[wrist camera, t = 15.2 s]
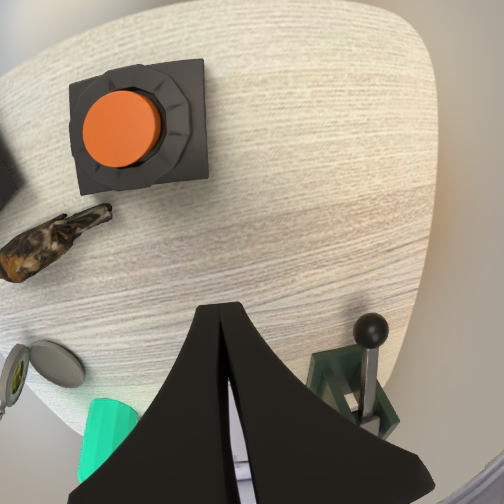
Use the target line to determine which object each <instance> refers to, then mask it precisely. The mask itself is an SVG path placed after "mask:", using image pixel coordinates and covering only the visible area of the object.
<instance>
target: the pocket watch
mask: <svg viewBox="0 0 504 504" xmlns="http://www.w3.org/2000/svg"><path fill="white" fill-rule="evenodd" d="M29 361H30V362H31V364H32V366H33V367H34V368H35V370H36V371H37V372H38V373H39V374H40V375H42V376H43V377H44V378H46V379H47V380H48V381H50V382H52V383H54V384H56V385H59V386H61V387H66V388H77V387H79V386H81V385H82V384H83V381H84V371H83V368H82V366H81V365H80V363H79V362H78V361H77V359H76V358H75V357H74V356H73V355H71V354H70V353H69V352H68V351H67V350H65V349H63V348H62V347H60V346H58V345H56V344H53V343H51V342H48V341H36V342H34V343H32V344H31V346H30V347H26V346H24V345H22V344H17V345H15V346H14V347H13V348H12V350H11V352H10V353H9V355H8V357H7V359H6V361H5V364H4V367H3V370H2V374H1V378H0V400H1V406H0V420H1V419H2V416H3V415H4V414H5V406H8V407H11V406H12V405H14V404H15V403H16V401H17V400H18V398H19V396H20V394H21V391H22V388H23V385H24V382H25V379H26V375H27V371H28V365H29Z"/></svg>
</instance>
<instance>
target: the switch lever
mask: <svg viewBox="0 0 504 504" xmlns="http://www.w3.org/2000/svg"><path fill="white" fill-rule="evenodd" d="M388 333H389V327H388V323H387V321H386V320H385V318H384V317H383V316H381V315H379V314H377V313H367V314H364V315H362V316H361V317H360V318H359V319H358V320H357V321H356V323H355V325H354V328H353V336H354V339H355V341H356V343H357V344H358V345H359V346H361V347H362V365H361V382H360V395H359V407H358V410H356V411H353V412H352V414H353V417H354V419H355V421H356V423H357V425H358V426H360V427H362V428H364V429H365V430H367V431H369V432H370V433H372V434H374V435H376V436H378V432H379V426H380V420H381V418H380V417H379V416H378V415H377V414H376V413H375V412H374V411H373V407H374V398H375V389H376V379H377V367H378V351H379V346H381V345H382V344H383V343H384V342H385V341H386V339H387V337H388Z"/></svg>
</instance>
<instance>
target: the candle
mask: <svg viewBox="0 0 504 504" xmlns="http://www.w3.org/2000/svg"><path fill="white" fill-rule="evenodd" d="M136 424H137V413H136V412H135V411H134V410H133V409H132V408H131V407H129V406H127V405H125V404H123V403H121V402H119V401H115V400H110V399H106V398H104V399H95V400H94V401H93V402H92V403H91V404H90V409H89V413H88V418H87V422H86V427H85V432H84V437H83V443H82V449H81V455H80V461H79V468H78V479H79V481H80V482H81V483H82V482H84V481H85V480H86V479H87V478H88V477H89V476H90V475H91V474H92V473H93V472H95V471H96V470H97V469H98V468H99V467H100V466H101V465H102V464H103V463H104V462H105V461H106V460H107V458H108V457H109V456H110V455H111V454H112V453H113V452H114V451H115V450H116V448H117V447H118V446H119V445H120V444H121V443H122V442H123V441H124V439H125V438H126V437H127V436H128V435H129V433H130V432H131V431H132V430H133V428H134V427H135V426H136Z"/></svg>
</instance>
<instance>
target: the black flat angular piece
mask: <svg viewBox="0 0 504 504" xmlns="http://www.w3.org/2000/svg"><path fill="white" fill-rule="evenodd" d="M17 190H18V187H17V186H16V184H15V183H14V181H13V179H12V178H11V176H10V174H9V173H8V171H7V169H6V168H5V166H4V164H3V163H2V161H1V159H0V210H1V209H2V207H3V206H4V205H5V204H6V202H7V201H8V200H9V199H10V198H11V197H12V195H13V194H14V193H15V192H16V191H17Z"/></svg>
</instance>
